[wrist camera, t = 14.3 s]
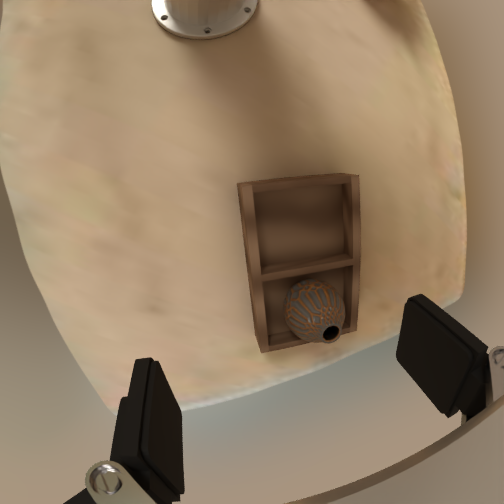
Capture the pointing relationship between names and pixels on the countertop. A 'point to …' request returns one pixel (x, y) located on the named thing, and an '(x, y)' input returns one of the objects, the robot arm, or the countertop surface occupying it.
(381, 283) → the countertop surface
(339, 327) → the vase
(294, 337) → the divided wooden tray
